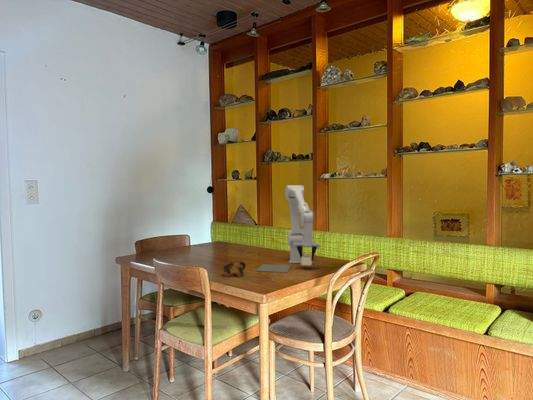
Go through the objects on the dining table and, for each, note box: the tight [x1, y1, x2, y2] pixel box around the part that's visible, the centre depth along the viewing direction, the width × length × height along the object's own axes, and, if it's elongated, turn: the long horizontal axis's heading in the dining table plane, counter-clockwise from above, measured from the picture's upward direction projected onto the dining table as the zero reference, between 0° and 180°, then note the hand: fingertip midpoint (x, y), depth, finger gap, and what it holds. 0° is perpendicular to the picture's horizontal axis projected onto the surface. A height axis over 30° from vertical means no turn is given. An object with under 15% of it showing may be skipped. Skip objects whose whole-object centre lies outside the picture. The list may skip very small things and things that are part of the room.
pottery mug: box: [222, 260, 247, 278], centre depth 201 cm, size 12×10×8 cm
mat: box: [255, 263, 293, 274], centre depth 214 cm, size 16×16×1 cm
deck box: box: [300, 253, 314, 266], centre depth 214 cm, size 9×5×4 cm, turn 167°
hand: (307, 260), depth 214 cm, fingers closed on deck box, 5 cm apart
